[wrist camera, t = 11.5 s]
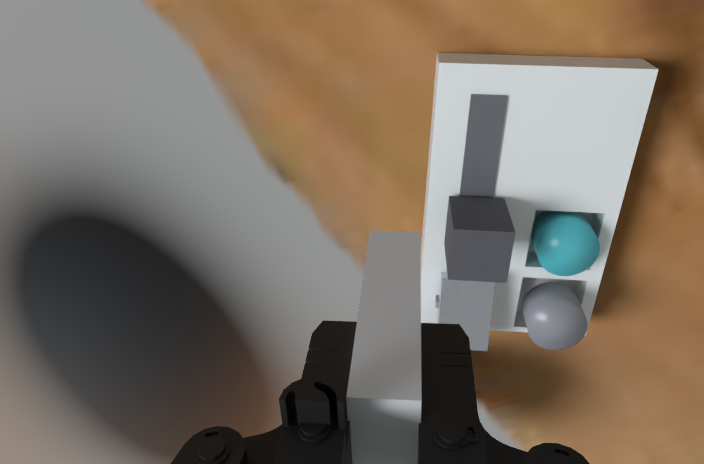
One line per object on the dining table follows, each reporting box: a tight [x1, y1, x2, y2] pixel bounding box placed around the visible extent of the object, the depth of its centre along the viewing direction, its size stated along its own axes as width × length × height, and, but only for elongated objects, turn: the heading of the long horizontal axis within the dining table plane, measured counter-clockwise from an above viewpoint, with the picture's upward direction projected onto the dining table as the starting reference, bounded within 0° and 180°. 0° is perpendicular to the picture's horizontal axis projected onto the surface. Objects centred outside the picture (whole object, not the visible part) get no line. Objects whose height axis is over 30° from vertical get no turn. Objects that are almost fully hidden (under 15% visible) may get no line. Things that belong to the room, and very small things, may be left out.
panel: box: [420, 53, 659, 336], centre depth 43 cm, size 22×14×4 cm, turn 179°
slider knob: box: [444, 196, 516, 283], centre depth 40 cm, size 4×4×5 cm
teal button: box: [531, 211, 600, 276], centre depth 43 cm, size 4×4×3 cm
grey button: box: [522, 282, 588, 350], centre depth 45 cm, size 4×4×3 cm
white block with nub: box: [437, 272, 495, 351], centre depth 45 cm, size 6×4×1 cm, turn 179°
